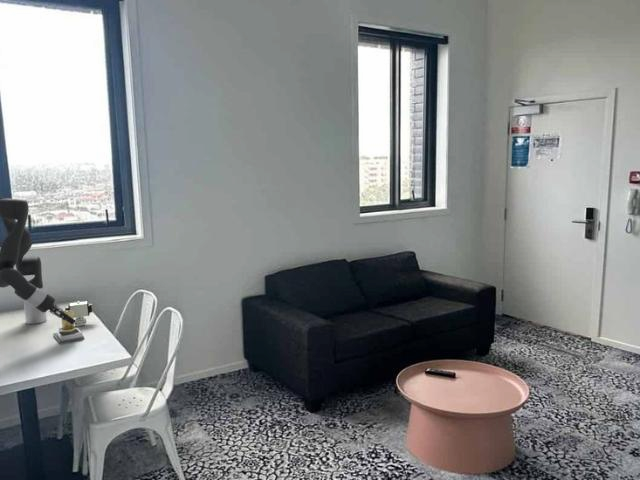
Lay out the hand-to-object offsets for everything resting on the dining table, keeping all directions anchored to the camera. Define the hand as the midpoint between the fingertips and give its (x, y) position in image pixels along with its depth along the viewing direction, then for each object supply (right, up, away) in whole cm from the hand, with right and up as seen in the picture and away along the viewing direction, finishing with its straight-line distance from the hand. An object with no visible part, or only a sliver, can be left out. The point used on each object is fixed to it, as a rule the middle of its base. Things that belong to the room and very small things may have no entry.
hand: (72, 321), depth 235 cm
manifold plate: (-3, -8, +2) cm, 9 cm away
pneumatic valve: (-6, -5, +22) cm, 23 cm away
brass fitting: (-1, -4, -1) cm, 5 cm away
